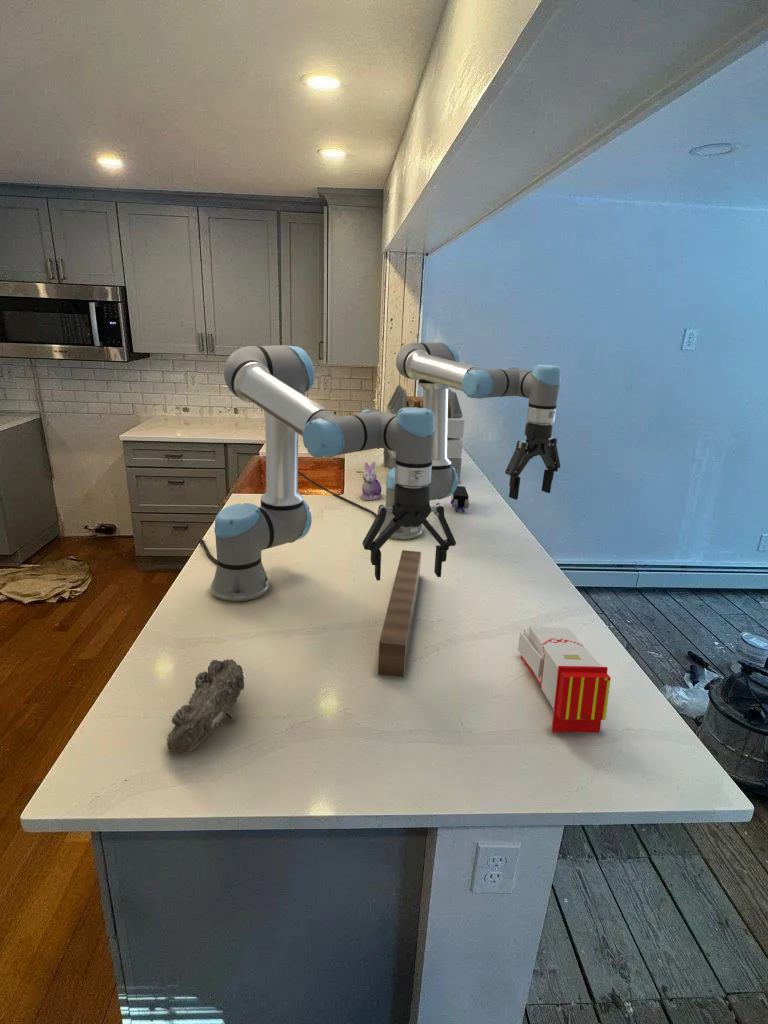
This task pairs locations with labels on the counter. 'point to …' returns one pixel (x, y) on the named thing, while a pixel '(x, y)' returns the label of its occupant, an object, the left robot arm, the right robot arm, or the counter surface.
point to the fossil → (206, 705)
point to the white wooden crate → (453, 428)
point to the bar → (399, 616)
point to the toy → (566, 678)
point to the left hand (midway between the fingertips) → (407, 576)
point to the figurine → (370, 483)
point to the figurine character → (460, 498)
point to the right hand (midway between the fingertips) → (529, 495)
